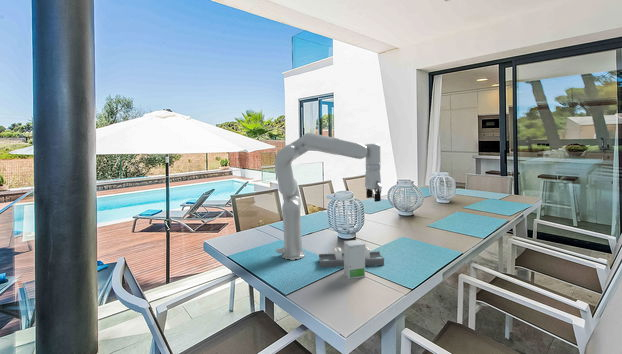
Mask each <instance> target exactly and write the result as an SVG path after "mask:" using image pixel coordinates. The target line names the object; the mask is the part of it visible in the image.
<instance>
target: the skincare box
mask: <svg viewBox="0 0 622 354" xmlns="http://www.w3.org/2000/svg"><path fill="white" fill-rule="evenodd" d="M365 246H366V244H365V242H363V241H361V239H356V240H354V239H353V240H344V241H343V253H344V267H343V273H344V275H345V276H346V278H347V279H349V280H351V279H360V278H366V266H365Z"/></svg>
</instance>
